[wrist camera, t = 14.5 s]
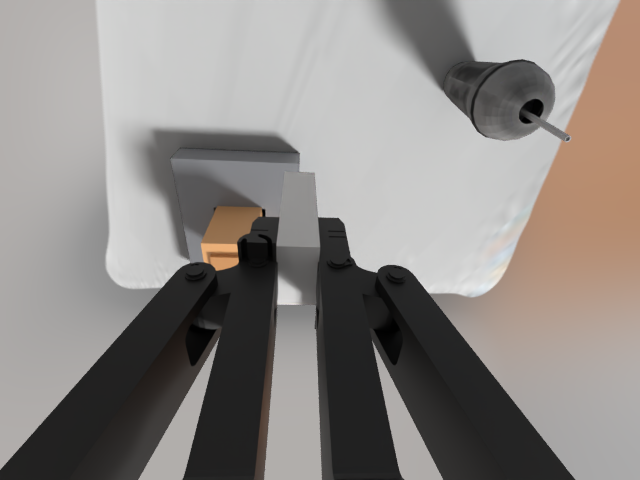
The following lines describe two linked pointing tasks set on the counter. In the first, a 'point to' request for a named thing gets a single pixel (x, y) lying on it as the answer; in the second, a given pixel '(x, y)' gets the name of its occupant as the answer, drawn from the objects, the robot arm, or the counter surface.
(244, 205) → the socket
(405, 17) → the counter surface
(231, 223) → the plug
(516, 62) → the beverage cup
